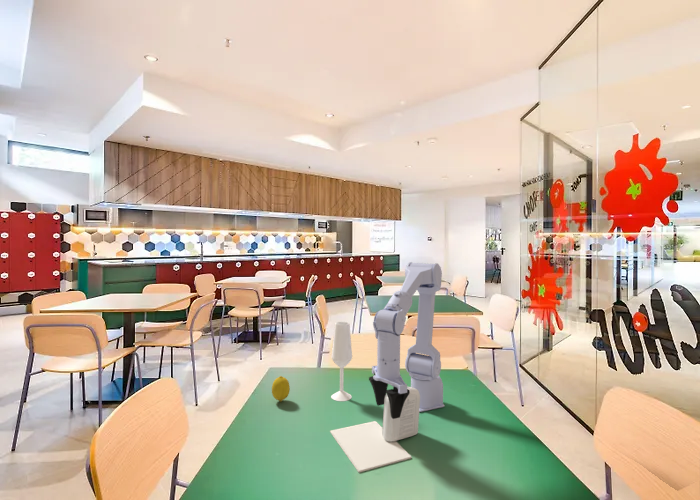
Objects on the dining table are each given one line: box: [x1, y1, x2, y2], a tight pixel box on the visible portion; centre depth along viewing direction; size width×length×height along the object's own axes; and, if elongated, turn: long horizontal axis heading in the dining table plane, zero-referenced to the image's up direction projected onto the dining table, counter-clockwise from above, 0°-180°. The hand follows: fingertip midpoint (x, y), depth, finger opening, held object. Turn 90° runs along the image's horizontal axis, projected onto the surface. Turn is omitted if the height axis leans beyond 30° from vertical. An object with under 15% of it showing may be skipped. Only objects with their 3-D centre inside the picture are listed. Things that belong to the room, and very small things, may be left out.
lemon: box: [271, 375, 291, 402], centre depth 112 cm, size 6×6×8 cm
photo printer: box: [382, 386, 420, 442], centre depth 92 cm, size 10×4×12 cm, turn 124°
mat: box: [329, 420, 412, 473], centre depth 88 cm, size 14×18×1 cm
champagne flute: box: [330, 321, 353, 402], centre depth 116 cm, size 7×7×24 cm
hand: (388, 410), depth 91 cm, fingers open, 7 cm apart
